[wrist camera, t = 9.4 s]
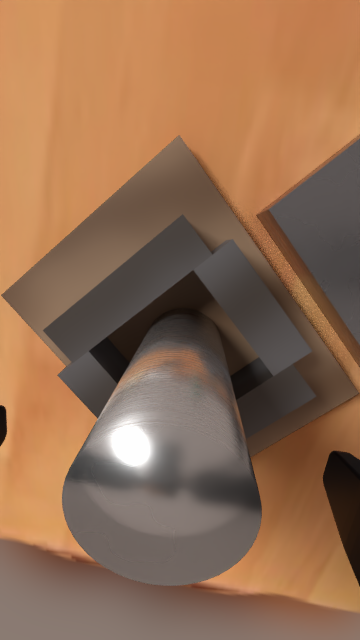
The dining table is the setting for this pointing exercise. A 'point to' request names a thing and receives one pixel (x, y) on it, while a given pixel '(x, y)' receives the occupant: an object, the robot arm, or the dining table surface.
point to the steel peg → (167, 463)
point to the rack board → (178, 299)
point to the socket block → (325, 239)
